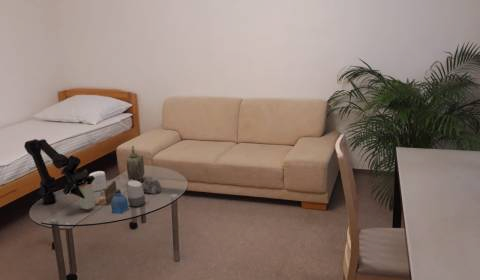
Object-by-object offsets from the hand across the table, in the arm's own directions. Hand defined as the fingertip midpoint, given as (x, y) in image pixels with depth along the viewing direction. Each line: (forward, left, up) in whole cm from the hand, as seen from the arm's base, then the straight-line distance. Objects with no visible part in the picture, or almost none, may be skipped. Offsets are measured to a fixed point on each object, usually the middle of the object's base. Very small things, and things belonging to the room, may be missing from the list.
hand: (88, 196), depth 239 cm
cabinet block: (-1, +1, -7) cm, 7 cm away
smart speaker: (+26, +1, -9) cm, 27 cm away
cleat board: (+6, +14, -9) cm, 17 cm away
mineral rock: (+33, +20, -9) cm, 40 cm away
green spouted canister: (+24, +42, -9) cm, 49 cm away
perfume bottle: (+17, -5, -9) cm, 20 cm away
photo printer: (0, +35, -9) cm, 36 cm away
